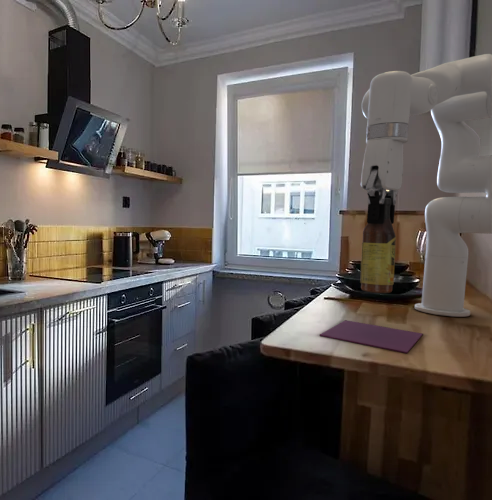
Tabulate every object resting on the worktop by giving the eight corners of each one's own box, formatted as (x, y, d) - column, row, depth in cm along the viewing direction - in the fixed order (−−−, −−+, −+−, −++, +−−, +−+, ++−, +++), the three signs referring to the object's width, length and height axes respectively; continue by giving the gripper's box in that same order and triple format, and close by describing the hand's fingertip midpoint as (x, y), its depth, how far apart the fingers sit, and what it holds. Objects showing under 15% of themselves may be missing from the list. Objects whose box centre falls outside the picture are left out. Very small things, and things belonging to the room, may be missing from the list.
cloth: (345, 321, 103) (345, 320, 103) (422, 334, 93) (422, 333, 93) (319, 335, 90) (319, 334, 90) (406, 353, 79) (407, 352, 79)
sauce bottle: (397, 295, 87) (404, 197, 85) (364, 293, 88) (370, 197, 86) (386, 289, 93) (392, 198, 91) (355, 287, 95) (360, 198, 93)
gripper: (383, 142, 96) (377, 223, 98) (350, 132, 85) (344, 222, 87) (420, 139, 90) (414, 224, 92) (391, 126, 80) (384, 224, 81)
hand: (380, 222), depth 89 cm, fingers closed on sauce bottle, 4 cm apart
